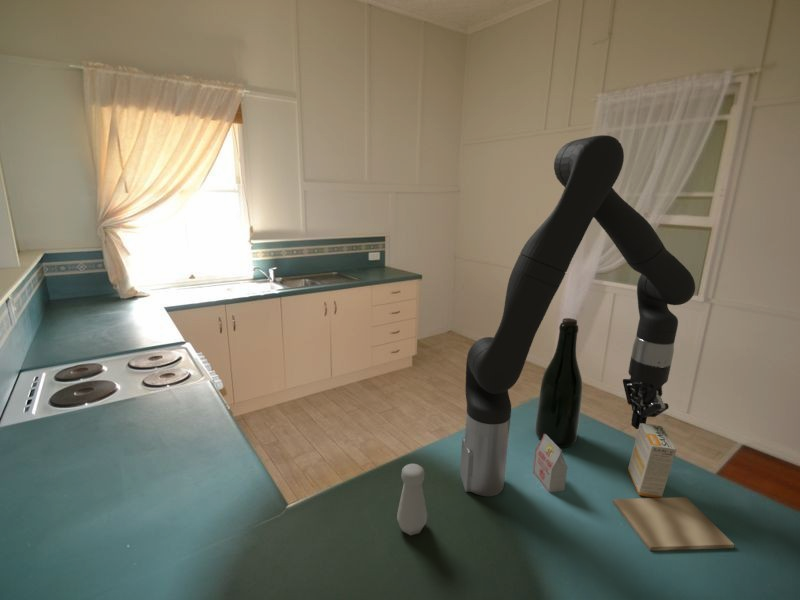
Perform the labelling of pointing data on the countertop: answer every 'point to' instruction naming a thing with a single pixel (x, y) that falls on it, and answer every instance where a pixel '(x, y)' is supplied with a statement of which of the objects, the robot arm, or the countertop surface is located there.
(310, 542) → the countertop surface
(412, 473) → the salt shaker
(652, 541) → the tan wooden board
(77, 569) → the countertop surface
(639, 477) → the supplement box
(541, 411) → the dark green wine bottle
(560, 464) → the white printed carton box
